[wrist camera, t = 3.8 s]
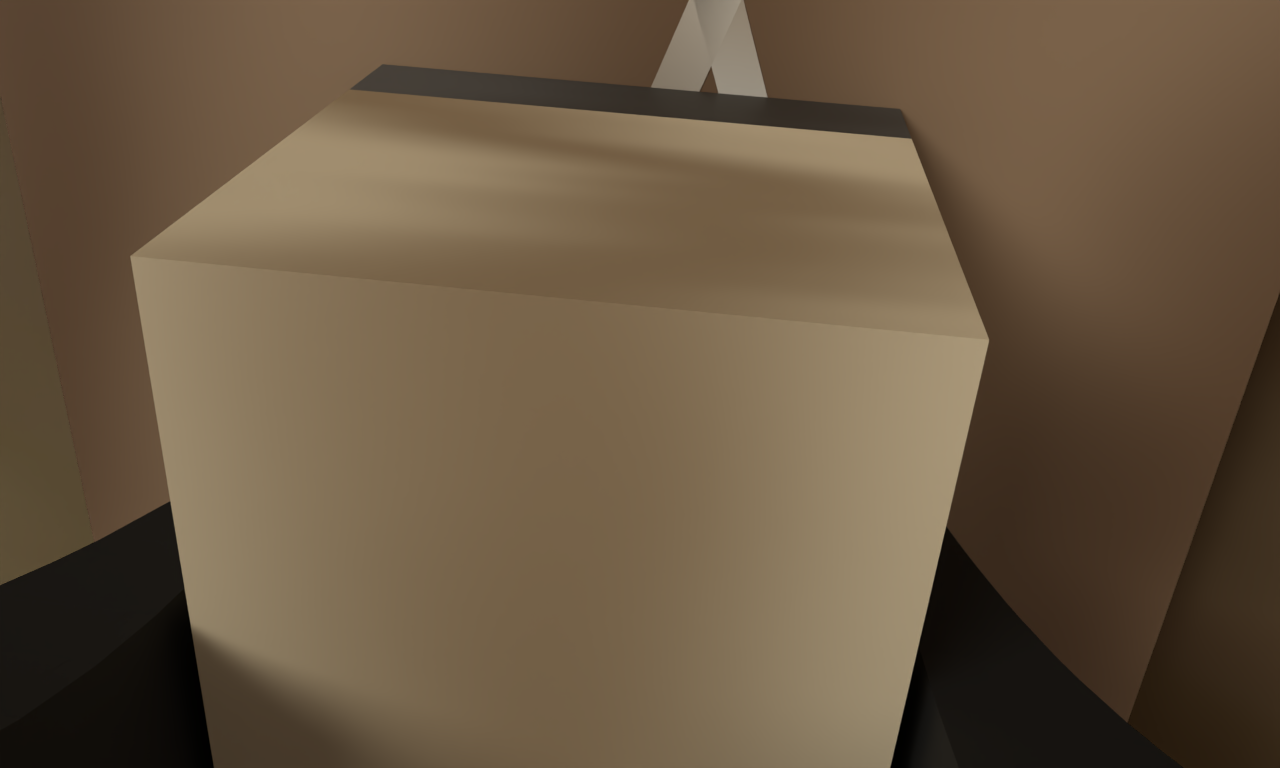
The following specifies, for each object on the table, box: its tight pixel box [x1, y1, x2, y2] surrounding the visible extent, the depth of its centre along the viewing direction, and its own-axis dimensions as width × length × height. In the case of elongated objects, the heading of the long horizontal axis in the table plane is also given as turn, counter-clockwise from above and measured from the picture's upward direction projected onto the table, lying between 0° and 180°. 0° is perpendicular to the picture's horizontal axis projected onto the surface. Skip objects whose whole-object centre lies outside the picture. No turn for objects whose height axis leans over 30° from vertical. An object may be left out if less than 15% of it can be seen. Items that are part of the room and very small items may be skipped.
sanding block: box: [130, 64, 989, 768], centre depth 11 cm, size 5×9×5 cm, turn 177°
